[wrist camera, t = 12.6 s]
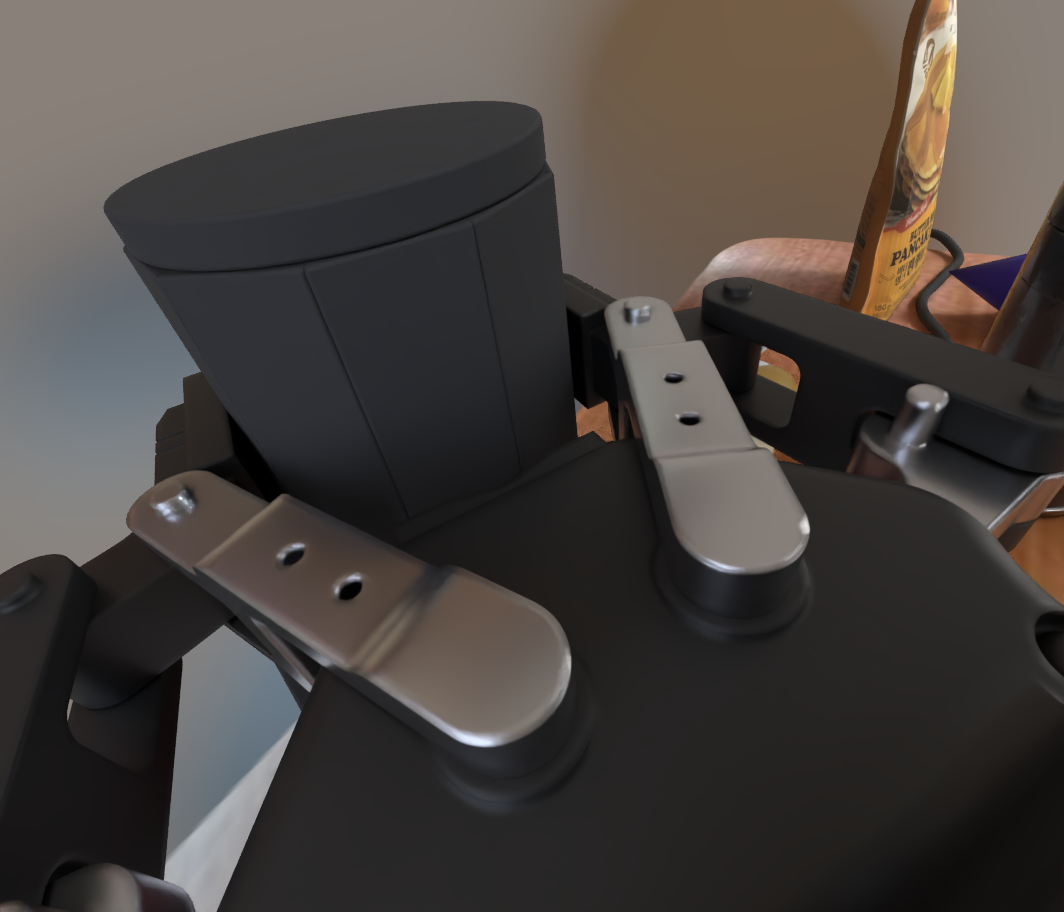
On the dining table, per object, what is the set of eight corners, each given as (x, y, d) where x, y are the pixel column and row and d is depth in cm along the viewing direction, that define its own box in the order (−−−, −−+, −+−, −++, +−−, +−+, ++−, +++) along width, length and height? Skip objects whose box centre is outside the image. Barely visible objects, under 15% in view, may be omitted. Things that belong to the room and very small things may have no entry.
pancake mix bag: (802, 329, 55) (886, -26, 37) (866, 263, 65) (957, -46, 47) (872, 345, 52) (1004, -42, 33) (928, 273, 61) (1055, -60, 43)
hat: (497, 416, 21) (424, 79, 13) (759, 574, 14) (896, 67, 7) (234, 584, 16) (-97, 205, 9) (436, 945, 9) (-281, 595, 2)
